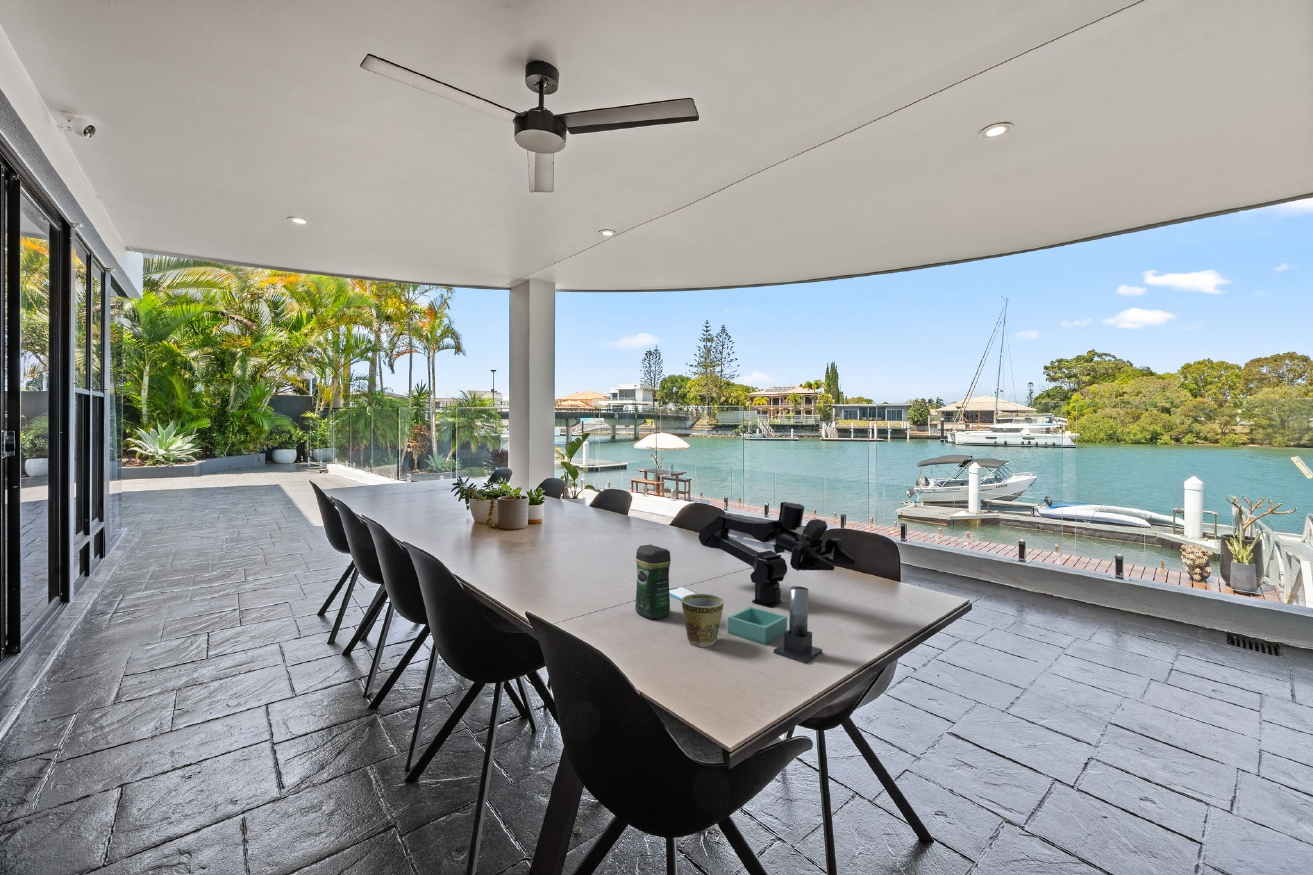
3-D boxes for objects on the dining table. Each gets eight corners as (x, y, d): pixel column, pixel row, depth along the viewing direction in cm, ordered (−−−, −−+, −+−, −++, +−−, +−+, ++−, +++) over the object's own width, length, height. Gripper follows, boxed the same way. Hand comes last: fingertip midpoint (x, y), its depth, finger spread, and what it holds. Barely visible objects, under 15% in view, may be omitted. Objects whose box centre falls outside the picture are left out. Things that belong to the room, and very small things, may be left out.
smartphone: (693, 605, 154) (662, 590, 166) (693, 609, 154) (662, 593, 166) (713, 600, 158) (682, 586, 171) (713, 604, 158) (681, 589, 171)
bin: (727, 633, 135) (727, 617, 134) (750, 621, 142) (750, 606, 142) (765, 645, 128) (765, 628, 127) (786, 632, 135) (787, 616, 135)
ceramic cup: (728, 649, 125) (729, 606, 125) (685, 651, 123) (686, 607, 123) (713, 628, 138) (713, 589, 138) (674, 629, 136) (675, 590, 136)
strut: (783, 649, 123) (785, 589, 123) (793, 643, 127) (794, 584, 126) (802, 655, 120) (803, 593, 120) (811, 649, 124) (813, 588, 123)
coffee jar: (674, 616, 146) (676, 547, 146) (651, 622, 141) (652, 551, 141) (653, 606, 154) (654, 541, 153) (630, 611, 149) (631, 544, 149)
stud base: (773, 653, 123) (773, 634, 123) (790, 642, 129) (790, 624, 129) (806, 663, 118) (806, 644, 118) (822, 652, 124) (822, 633, 124)
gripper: (778, 519, 143) (828, 539, 130) (821, 512, 154) (871, 531, 142) (771, 558, 144) (820, 583, 132) (815, 549, 156) (863, 571, 143)
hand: (844, 565), depth 137 cm, fingers open, 9 cm apart
